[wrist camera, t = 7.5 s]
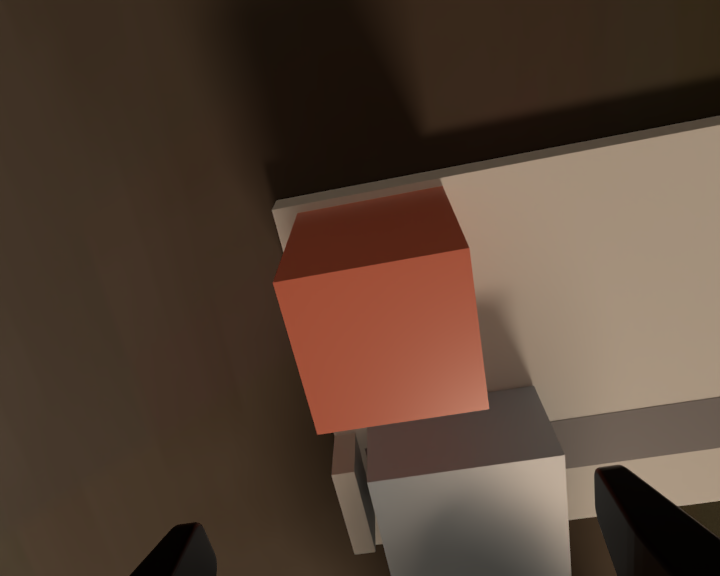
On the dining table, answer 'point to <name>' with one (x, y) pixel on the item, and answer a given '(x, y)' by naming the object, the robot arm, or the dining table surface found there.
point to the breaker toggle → (472, 491)
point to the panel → (585, 304)
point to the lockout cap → (382, 312)
